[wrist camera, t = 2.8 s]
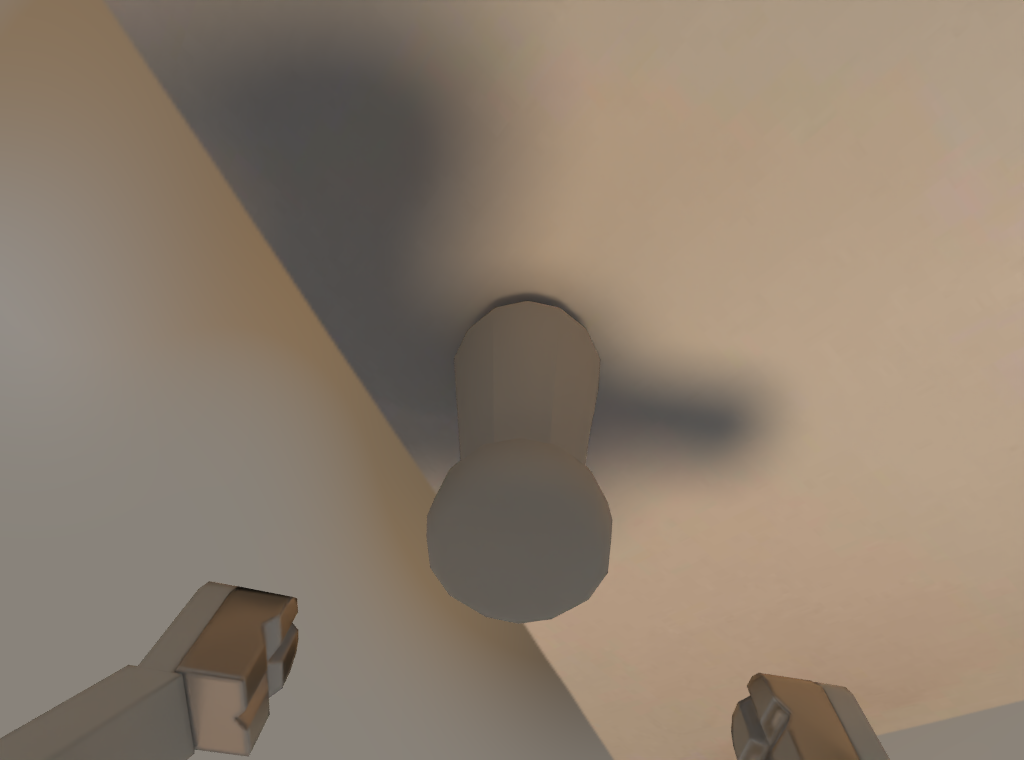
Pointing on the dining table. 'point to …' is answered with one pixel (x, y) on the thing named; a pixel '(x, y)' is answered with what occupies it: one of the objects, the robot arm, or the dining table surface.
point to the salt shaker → (522, 470)
